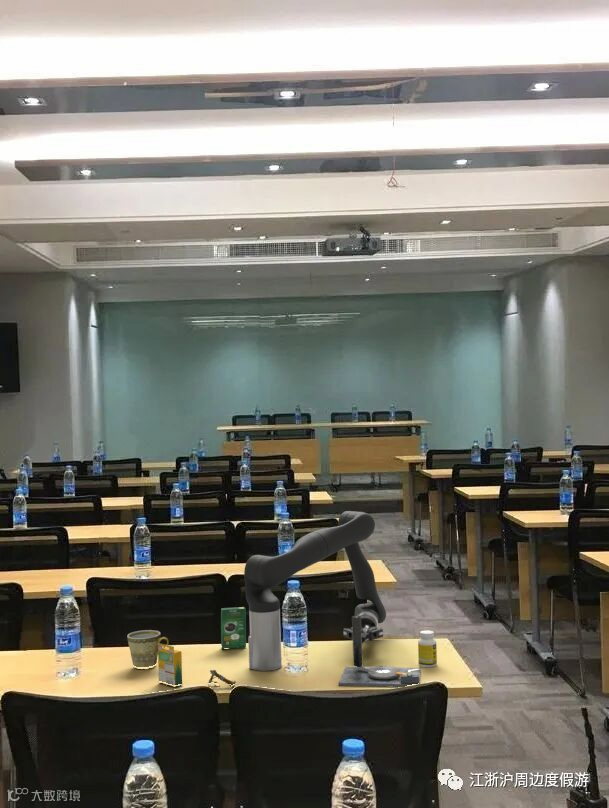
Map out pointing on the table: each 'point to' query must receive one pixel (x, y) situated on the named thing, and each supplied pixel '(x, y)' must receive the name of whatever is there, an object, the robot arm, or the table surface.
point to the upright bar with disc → (373, 672)
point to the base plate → (362, 679)
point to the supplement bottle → (427, 649)
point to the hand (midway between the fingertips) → (360, 640)
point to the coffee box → (233, 627)
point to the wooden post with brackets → (220, 678)
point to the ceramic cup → (144, 647)
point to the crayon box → (169, 664)
